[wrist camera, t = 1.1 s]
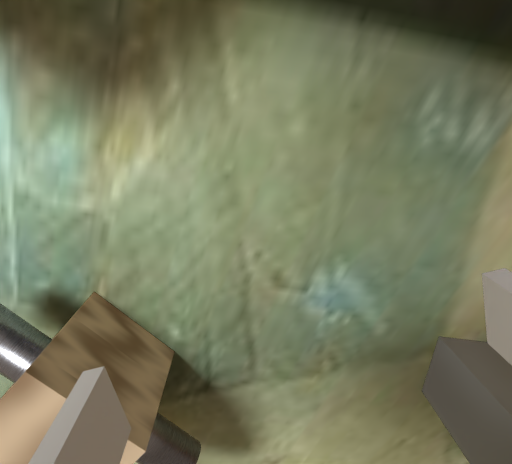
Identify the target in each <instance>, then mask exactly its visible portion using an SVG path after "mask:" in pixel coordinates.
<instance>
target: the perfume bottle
mask: <svg viewBox="0 0 512 464" xmlns="http://www.w3.org/2000/svg"><path fill="white" fill-rule="evenodd" d="M422 392H423V394H424V395H425V397H426V398H427V400H428V401H429V403H430V404H431V406H432V407H433V409H434V410H435V412H436V413H437V415H438V416H439V418H440V419H441V421H442V422H443V424H444V425H445V427H446V428H447V430H448V431H449V433H450V434H451V436H452V437H453V439H454V440H455V442H456V443H457V445H458V446H459V448H460V449H461V451H462V452H463V454H464V455H465V457H466V458H467V460H468V461H469V463H470V464H512V365H511V364H510V363H508V362H507V361H506V360H505V359H504V358H503V357H502V356H501V355H500V354H499V353H498V352H497V351H495V350H494V349H493V348H492V347H491V346H490V345H489V344H488V343H487V342H481V341H472V340H464V339H456V338H447V337H439V338H438V341H437V344H436V347H435V350H434V354H433V357H432V360H431V363H430V366H429V370H428V373H427V376H426V379H425V382H424V386H423V389H422Z"/></svg>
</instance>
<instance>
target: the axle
mask: <svg viewBox="0 0 512 464" xmlns="http://www.w3.org/2000/svg"><path fill="white" fill-rule="evenodd" d="M51 341H52V339H51V338H49V337H48V336H47V335H45V334H44V333H42V332H41V331H39V330H38V329H36V328H35V327H34V326H32V325H31V324H29V323H28V322H26V321H25V320H23V319H22V318H21V317H19V316H18V315H16V314H15V313H13V312H12V311H11V310H9V309H8V308H6V307H5V306H3V305H2V304H0V374H1V375H3V376H4V377H6V378H7V379H9V380H10V381H12V382H14V383H15V382H16V381H17V380H18V379H19V378H20V377H21V376H22V375H23V373H24V372H25V371H26V370H27V369H28V368H29V367H30V365H31V364H32V363H33V362H34V361H35V360H36V358H37V357H38V356H39V355H40V354H41V353H42V351H43V350H44V349H45V348H46V347H47V346H48V344H49V343H50V342H51ZM200 450H201V444H200V442H199V441H198V440H196V439H195V438H194V437H192V436H191V435H189V434H188V433H186V432H185V431H183V430H182V429H181V428H179V427H178V426H176V425H175V424H173V423H172V422H170V421H169V420H168V419H166V418H165V417H163V416H162V415H160V414H159V413H158V412H157V415H156V418H155V421H154V425H153V428H152V432H151V435H150V439H149V442H148V446H147V449H146V452H145V453H144V454H143V455H142V456H141V457H140V458H139V459H138V460H137V461H136V462H137V463H138V464H196V463H197V460H198V458H199V455H200Z"/></svg>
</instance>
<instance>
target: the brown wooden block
mask: <svg viewBox="0 0 512 464" xmlns="http://www.w3.org/2000/svg"><path fill="white" fill-rule="evenodd" d="M173 355H174V351H173V350H172V349H170V348H169V347H168V346H166V345H165V344H164V343H162V342H161V341H160V340H158V339H157V338H156V337H154V336H153V335H152V334H150V333H149V332H148V331H146V330H145V329H144V328H142V327H141V326H140V325H138V324H137V323H136V322H134V321H133V320H132V319H130V318H129V317H128V316H126V315H125V314H123V313H122V312H121V311H119V310H118V309H117V308H115V307H114V306H113V305H111V304H110V303H109V302H107V301H106V300H105V299H103V298H102V297H101V296H99V295H98V294H97V293H95V292H93V293H92V295H91V296H90V297H89V298H88V299H87V300H86V301H85V302H84V304H83V305H82V306H81V307H80V308H79V309H78V310H77V312H76V313H75V314H74V315H73V316H72V317H71V318H70V319H69V321H68V322H67V323H66V324H65V325H64V326H63V327H62V329H61V330H60V331H59V332H58V333H57V334H56V335H55V336H54V338H53V339H52V341H51V342H50V343H49V344H48V346H47V347H46V348H45V349H44V350H43V351H42V353H41V354H40V355H39V356H38V357H37V358H36V360H35V361H34V362H33V363H32V364H31V365H30V367H29V368H28V369H27V370H26V371H25V372H24V373H23V375H22V376H21V377H20V378H19V379H18V380H17V381H16V382H15V383H14V384H13V385H12V386H11V387H10V388H9V390H8V391H7V392H6V393H5V394H4V395H3V396H2V398H1V399H0V464H28V463H29V462H30V460H31V458H32V457H33V455H34V453H35V452H36V450H37V448H38V446H39V445H40V443H41V441H42V440H43V438H44V436H45V435H46V433H47V431H48V430H49V428H50V426H51V425H52V423H53V421H54V419H55V418H56V416H57V414H58V413H59V411H60V409H61V408H62V406H63V404H64V403H65V401H66V399H67V398H68V396H69V394H70V392H71V391H72V389H73V387H74V386H75V384H76V382H77V381H78V379H79V377H80V376H81V374H82V372H83V371H87V370H91V369H95V368H99V367H103V366H105V369H106V371H107V373H108V376H109V378H110V380H111V382H112V385H113V387H114V389H115V392H116V394H117V396H118V399H119V401H120V403H121V405H122V408H123V410H124V412H125V415H126V417H127V419H128V422H129V424H130V426H131V431H130V434H129V437H128V440H127V443H126V446H125V449H124V452H123V455H122V458H121V461H120V464H134V463H135V462H136V461H137V460H138V459H139V458H140V457H141V456H142V455H143V454H144V453H145V452H146V449H147V446H148V442H149V439H150V435H151V432H152V428H153V425H154V421H155V418H156V415H157V411H158V408H159V404H160V401H161V397H162V394H163V390H164V387H165V383H166V380H167V376H168V373H169V369H170V366H171V362H172V359H173Z"/></svg>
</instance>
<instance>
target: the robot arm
mask: <svg viewBox="0 0 512 464" xmlns="http://www.w3.org/2000/svg"><path fill="white" fill-rule="evenodd" d="M482 281H483V294H484V307H485V319H486V332H487V343H488V344H489V345H490V346H491V347H492V348H493V349H494V350H495V351H497V352H498V353H499V354H500V355H501V356H502V357H503V358H504V359H505V360H506V361H507V362H508V363H510V364H511V365H512V272H511V271H509V270H507V269H505V268H503V269H499V270H494V271H490V272H486V273H482ZM130 431H131V426H130V424H129V422H128V419H127V417H126V415H125V412H124V410H123V408H122V405H121V403H120V401H119V399H118V396H117V394H116V392H115V389H114V387H113V385H112V382H111V380H110V378H109V376H108V373H107V371H106V369H105V366H103V367H99V368H95V369H91V370H87V371H83V372H82V374H81V376H80V377H79V379H78V381H77V382H76V384H75V386H74V387H73V389H72V391H71V392H70V394H69V396H68V398H67V399H66V401H65V403H64V404H63V406H62V408H61V409H60V411H59V413H58V414H57V416H56V418H55V419H54V421H53V423H52V425H51V426H50V428H49V430H48V431H47V433H46V435H45V436H44V438H43V440H42V441H41V443H40V445H39V446H38V448H37V450H36V452H35V453H34V455H33V457H32V458H31V460H30V462H29V463H28V464H120V461H121V458H122V455H123V452H124V449H125V446H126V443H127V440H128V437H129V434H130Z"/></svg>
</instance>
